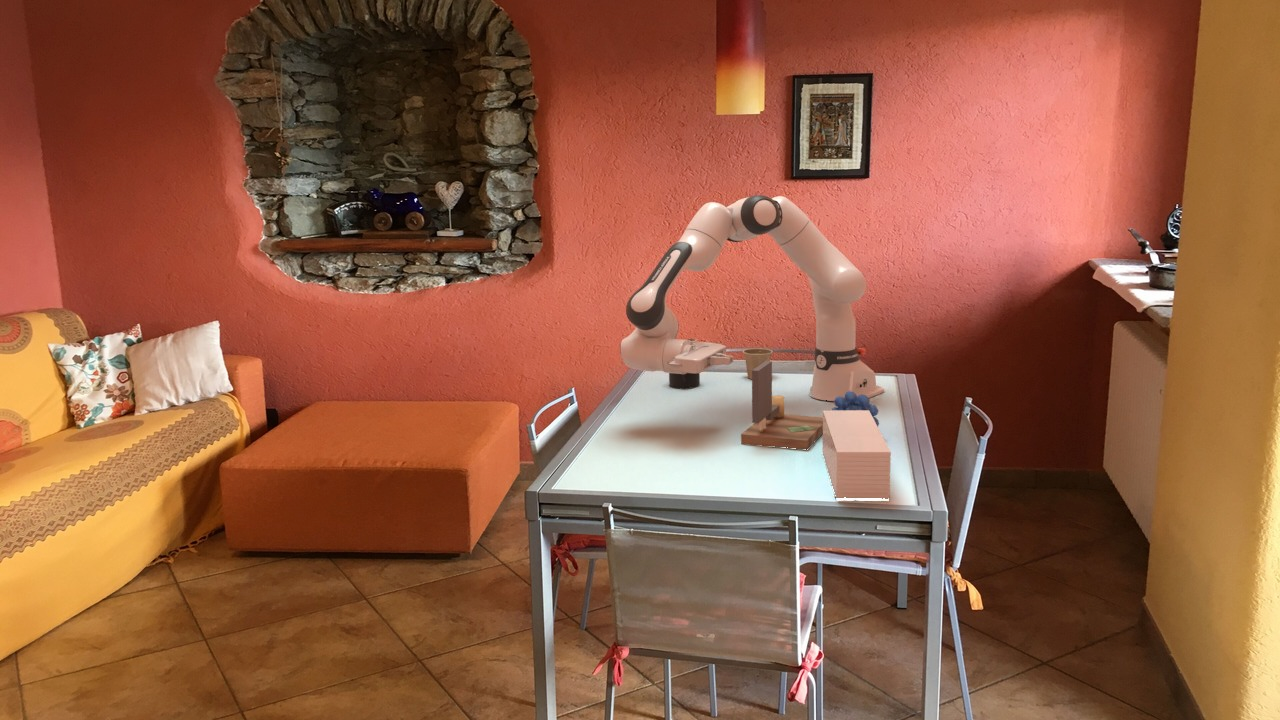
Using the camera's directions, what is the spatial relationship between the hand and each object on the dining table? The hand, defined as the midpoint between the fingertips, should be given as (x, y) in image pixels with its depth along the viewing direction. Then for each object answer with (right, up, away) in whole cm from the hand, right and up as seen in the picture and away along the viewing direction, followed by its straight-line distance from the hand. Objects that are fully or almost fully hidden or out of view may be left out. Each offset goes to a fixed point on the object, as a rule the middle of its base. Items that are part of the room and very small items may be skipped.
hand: (731, 360), depth 240 cm
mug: (-9, -8, +57) cm, 59 cm away
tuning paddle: (+10, -16, +3) cm, 19 cm away
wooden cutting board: (+14, -19, +3) cm, 24 cm away
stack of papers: (+24, -26, -28) cm, 45 cm away
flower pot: (+15, -6, +65) cm, 67 cm away
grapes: (+30, -20, -2) cm, 36 cm away
